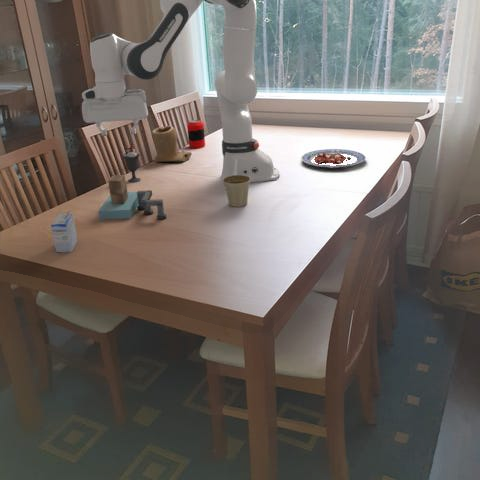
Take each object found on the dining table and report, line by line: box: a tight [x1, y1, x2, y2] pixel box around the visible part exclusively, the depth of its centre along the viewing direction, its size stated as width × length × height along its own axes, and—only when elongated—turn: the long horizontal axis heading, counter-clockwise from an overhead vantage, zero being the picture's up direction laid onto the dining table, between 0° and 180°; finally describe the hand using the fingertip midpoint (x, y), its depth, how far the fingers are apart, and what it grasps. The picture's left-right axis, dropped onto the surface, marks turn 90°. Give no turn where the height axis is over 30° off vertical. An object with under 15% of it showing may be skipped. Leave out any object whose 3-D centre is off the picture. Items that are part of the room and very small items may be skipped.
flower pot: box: [221, 175, 251, 208], centre depth 169 cm, size 9×9×9 cm
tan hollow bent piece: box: [151, 125, 192, 163], centre depth 219 cm, size 15×12×15 cm
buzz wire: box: [136, 189, 167, 221], centre depth 165 cm, size 11×12×6 cm
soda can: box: [186, 119, 206, 150], centre depth 240 cm, size 8×8×12 cm
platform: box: [97, 191, 139, 221], centre depth 171 cm, size 10×17×3 cm, turn 179°
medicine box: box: [50, 213, 79, 253], centre depth 144 cm, size 8×4×9 cm, turn 5°
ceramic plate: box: [300, 148, 367, 168], centre depth 209 cm, size 26×26×3 cm
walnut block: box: [107, 174, 128, 204], centre depth 168 cm, size 4×6×8 cm, turn 179°
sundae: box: [121, 142, 142, 183], centre depth 196 cm, size 7×7×15 cm
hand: (119, 134), depth 164 cm, fingers open, 8 cm apart
